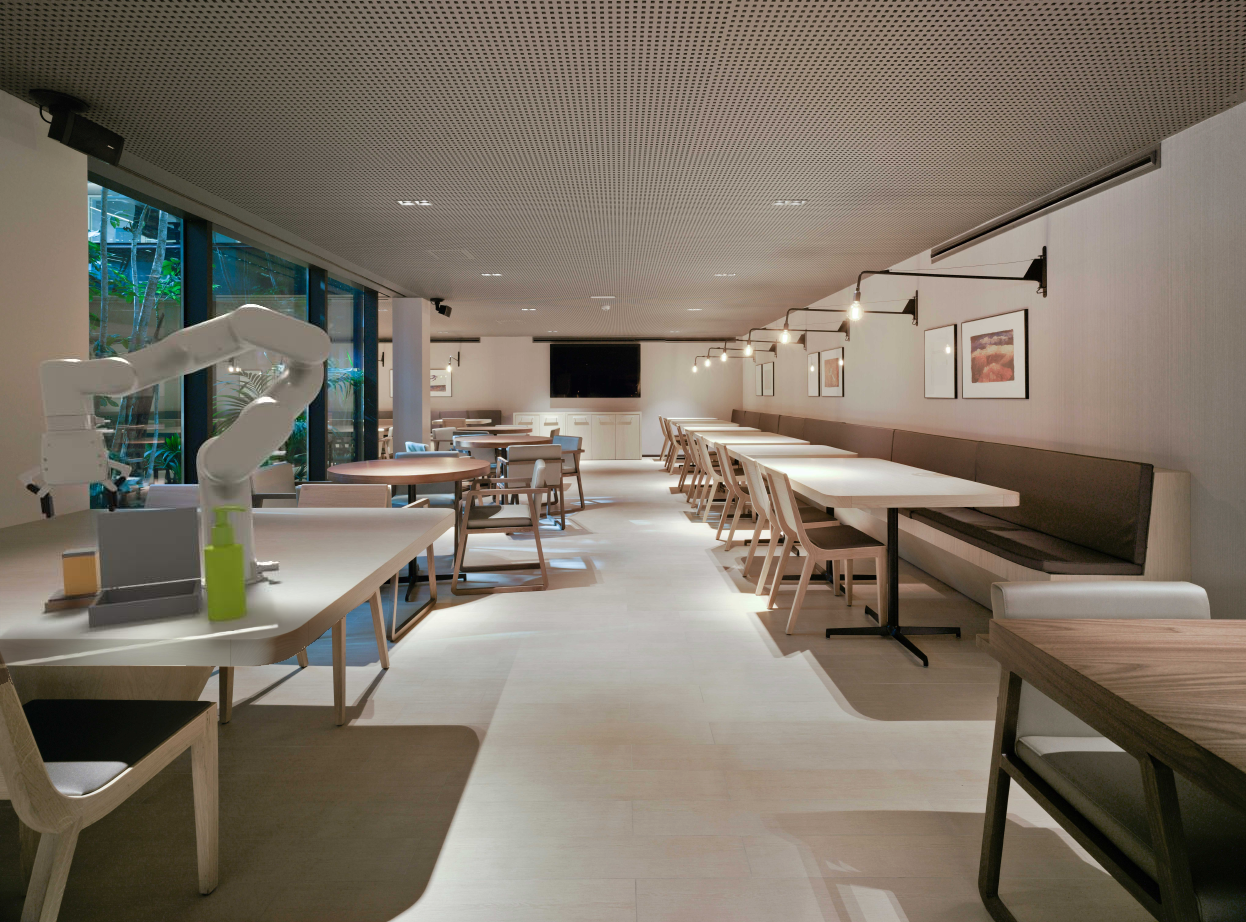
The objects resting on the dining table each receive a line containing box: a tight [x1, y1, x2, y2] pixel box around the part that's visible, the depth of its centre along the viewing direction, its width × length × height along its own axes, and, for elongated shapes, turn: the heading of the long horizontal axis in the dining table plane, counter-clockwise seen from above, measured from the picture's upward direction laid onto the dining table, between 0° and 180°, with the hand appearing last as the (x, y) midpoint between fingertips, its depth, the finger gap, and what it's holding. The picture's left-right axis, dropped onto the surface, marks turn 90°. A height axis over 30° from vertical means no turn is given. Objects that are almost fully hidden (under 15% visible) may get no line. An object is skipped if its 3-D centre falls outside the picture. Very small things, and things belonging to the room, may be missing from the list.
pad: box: [44, 587, 119, 613], centre depth 138 cm, size 10×10×3 cm
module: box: [61, 546, 101, 596], centre depth 137 cm, size 5×5×8 cm
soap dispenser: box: [204, 506, 247, 622], centre depth 125 cm, size 6×7×20 cm
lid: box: [96, 506, 202, 589], centre depth 137 cm, size 16×14×1 cm
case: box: [87, 578, 203, 629], centre depth 130 cm, size 16×14×4 cm
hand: (81, 514), depth 137 cm, fingers open, 9 cm apart
